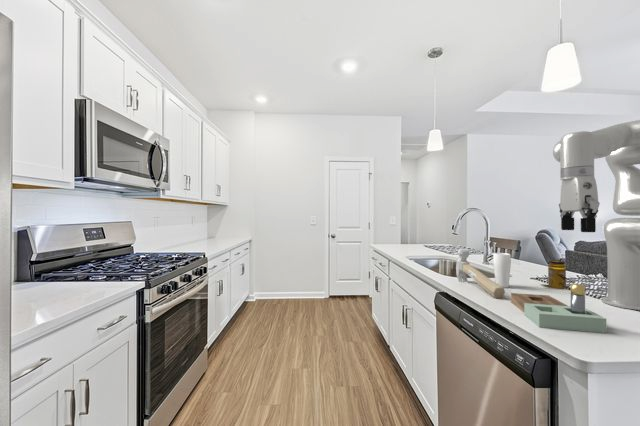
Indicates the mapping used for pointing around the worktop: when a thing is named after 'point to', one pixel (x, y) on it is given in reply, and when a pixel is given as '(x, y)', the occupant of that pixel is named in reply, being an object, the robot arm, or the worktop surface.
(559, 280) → the condiment
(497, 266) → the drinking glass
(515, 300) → the socket block
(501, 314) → the worktop surface
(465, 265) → the hammer
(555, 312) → the frame
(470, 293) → the worktop surface
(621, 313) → the worktop surface
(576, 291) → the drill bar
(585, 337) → the worktop surface
